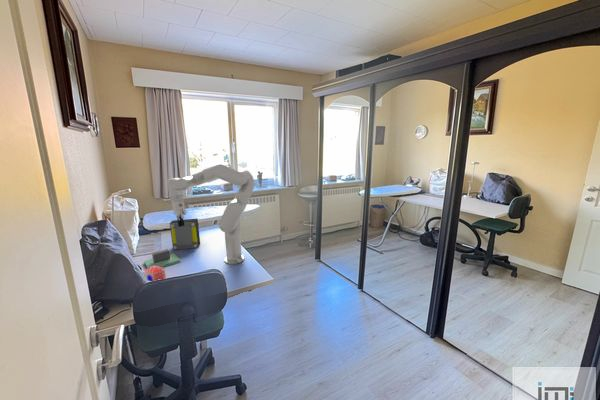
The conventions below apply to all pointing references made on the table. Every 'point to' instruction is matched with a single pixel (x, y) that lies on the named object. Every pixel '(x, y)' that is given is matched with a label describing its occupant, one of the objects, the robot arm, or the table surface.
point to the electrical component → (185, 234)
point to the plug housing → (161, 256)
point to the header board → (171, 261)
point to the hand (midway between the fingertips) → (181, 225)
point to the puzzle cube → (154, 273)
